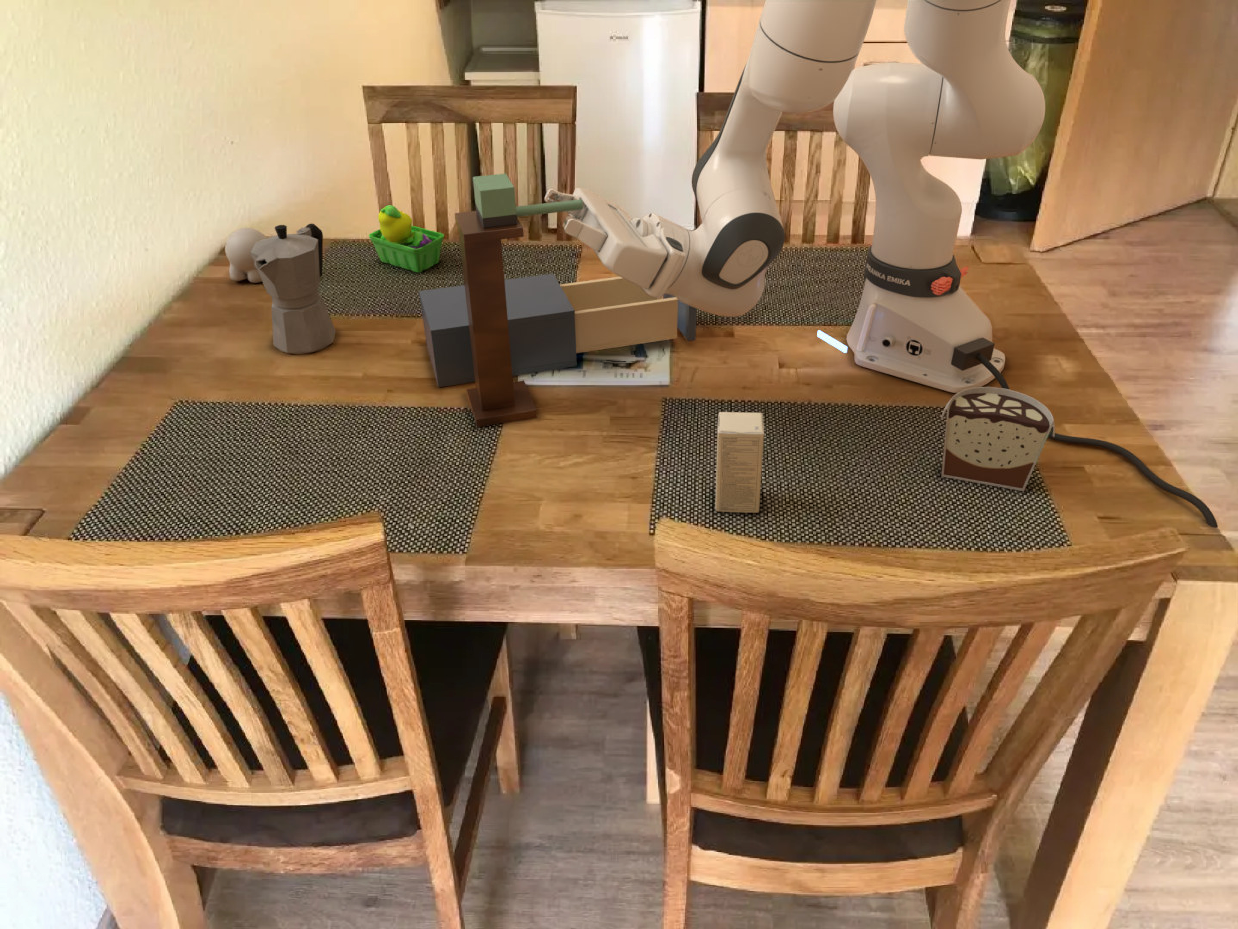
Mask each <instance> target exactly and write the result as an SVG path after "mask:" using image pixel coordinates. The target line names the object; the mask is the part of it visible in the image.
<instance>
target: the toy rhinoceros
mask: <svg viewBox="0 0 1238 929" xmlns="http://www.w3.org/2000/svg"><path fill="white" fill-rule="evenodd" d="M267 238H268V237H267V236H266V235H265V234H264V233H263V232H261V231H260V230H258V229H255V228H253V227H242V228H238V229H236V230H234V231H233V232H231V233H230V234H229V236H228V237H227V239H226V242H225V246H224V252H225V255H226V259H227V260H228V261H229V269H228V273H229V277H230V280H231V281H234V282H240V281H241V282H242V281H243V280H246V279H247V280H248V281H249V282H250V283H252V284H257V283H261V282H262V279H261V277H260V274H259V272H258V270H257V268H256V267H255V262H254V260H253V257H252V255H251V250H252V249H253V247H254V245H255V243H256V242H258V241H261V240H264V239H267Z"/></svg>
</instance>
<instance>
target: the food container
mask: <svg viewBox="0 0 1238 929" xmlns="http://www.w3.org/2000/svg"><path fill="white" fill-rule="evenodd" d="M1009 389H1010V388H1009ZM1009 389H1004V388H1001V387H995V386H982V387H976V388H970V389H966V390H963V391H960V392H959V393H954V395H953V396H952V397H951V398H950V400H948V402H947V403H946V404H945V407H944V409H943V411H942V413H941V415H940V419H943V418H944V416H945V414H946V422H945V430H944V431H945V432H944V444H943V455H942V465H941V477H942V478H948V479H954V480H958V481H964V482H969V483H975V484H981V485H986V486H993V487H997V488H1004V489H1009V490H1015V491H1020V492H1025V489H1026V488H1027V485H1028V483H1029V480H1030V479H1031V476H1032V475H1033V472H1034V469H1035V467H1036V466H1037V463H1038V460H1039V458H1040V456H1041V453H1042V451H1043V449H1044V447H1045V444H1046V441H1047V440H1048V438H1047V437H1048V435H1049V433H1050V431H1051V432H1052V435H1053V437H1055V433H1056V425H1055V421H1054V420H1055V419H1054V416H1053V414H1052V412H1051V411H1050V409H1049V408H1048V407H1047V406H1046V405H1045V404H1044V403H1042V402H1041V401H1039V400H1037V399H1036V398H1034V397H1032V396H1030V395H1028V394H1025V393H1022V392H1020V391H1017V390H1012V389H1010V390H1009Z"/></svg>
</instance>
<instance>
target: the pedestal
mask: <svg viewBox="0 0 1238 929" xmlns="http://www.w3.org/2000/svg"><path fill="white" fill-rule="evenodd" d="M454 221H455V225H456V226H457V229H458V240H459V247H460V248H459V249H460V257H461V258H460V259H461V267H462V274H463V275H462V276H463V285H464V286H465V295H466V304H467V313H468V322H469V331H470V341H471V350H472V359H473V368H474V377H475V382H474V384H475V387H472V388H466V390H465V391H466V392H465V393H466V399H467V401H468V404H469V407H470V412H471V414H472V416H473V420H474V424H475V427H476V428H481V427H486V426H492V425H499V424H506V423H512V422H517V421H523V420H529V419H535V418H538V411H537V408H536V406H535V403H534V400H533V399H532V396H531V394H530V391H529V389H528V387H527V384H526V382H525V380H524V379H523V380H517V381H514V378H513V377H514V376H512V364H511V352H510V340H509V328H508V316H507V304H506V292H505V280H506V279H505V270H504V256H503V247H502V246H503V245H502V240H509V239H517V238H524V237H525V234H524V226H523V224H522V222H521V221H520V219H519V217H517V224H516V225H508V226H499V227H491V228H483V226H482V224H481V222H480V220H479V218H478V216H477V214H476V210H472V211H471V210H470V211H461V212H454Z"/></svg>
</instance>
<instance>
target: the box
mask: <svg viewBox="0 0 1238 929" xmlns="http://www.w3.org/2000/svg"><path fill="white" fill-rule="evenodd" d="M717 416H718V417H717V433H716V434H717V436H716V438H717V439H716V441H717V442H716V467H715V468H716V470H715V471H716V473H715V474H716V475H715V502H714V503H715V505H714V507H715V511H716V512H722V513H743V514H744V513H745V514H746V513H748V514H750V513H754V514H756V513H759V512H760V502H761V485H762V484H761V483H762V470H763V457H764V456H763V454H764V439H765V423H764V414H763V413H762V412H745V411H744V412H743V411H742V412H741V411H738V412H737V411H735V412H733V411H720V412H718V415H717Z"/></svg>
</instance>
